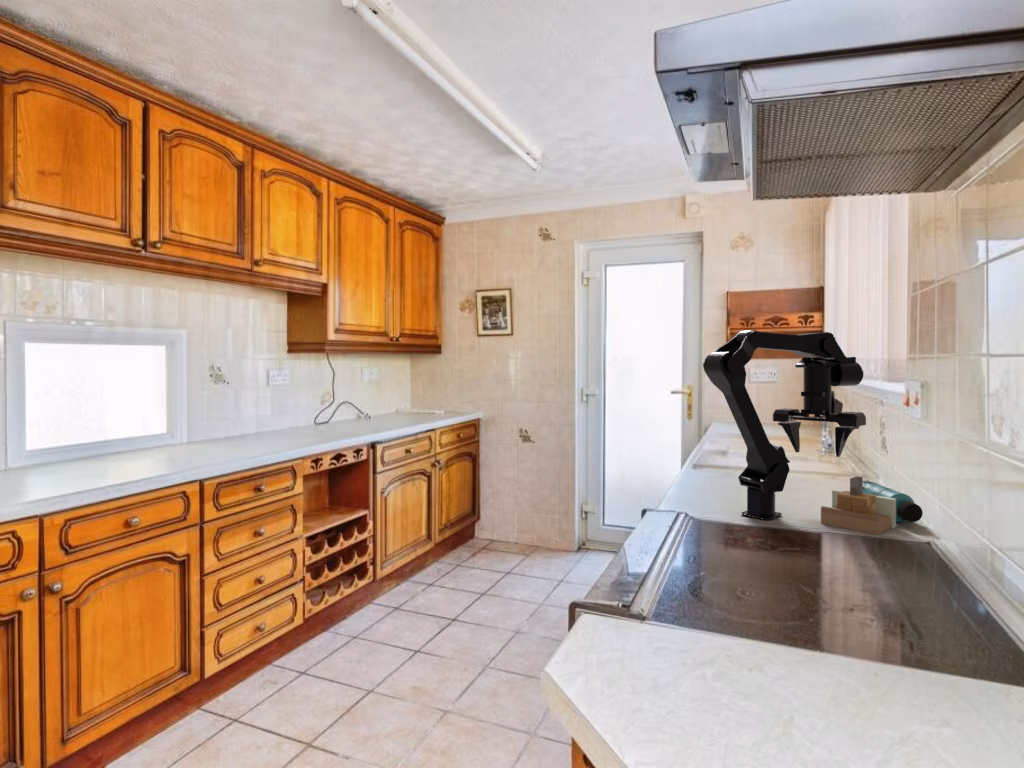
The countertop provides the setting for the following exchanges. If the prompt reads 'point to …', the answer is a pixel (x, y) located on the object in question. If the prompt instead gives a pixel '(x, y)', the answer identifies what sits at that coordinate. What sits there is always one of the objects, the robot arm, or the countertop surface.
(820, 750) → the countertop surface
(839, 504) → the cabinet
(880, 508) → the wooden stand with panel
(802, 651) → the countertop surface
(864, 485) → the beverage bottle
